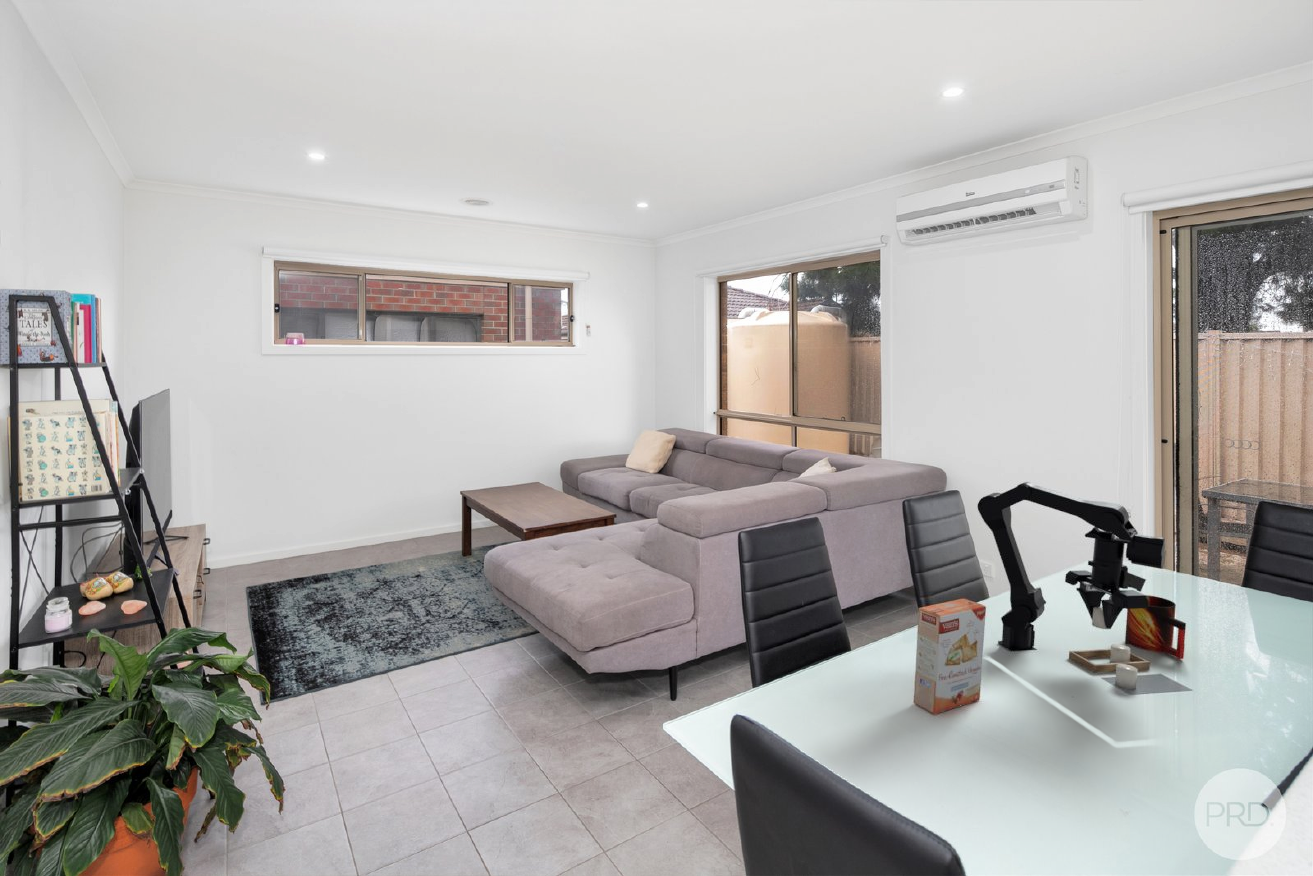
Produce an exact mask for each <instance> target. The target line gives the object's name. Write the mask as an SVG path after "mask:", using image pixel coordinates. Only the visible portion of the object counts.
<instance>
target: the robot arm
mask: <svg viewBox="0 0 1313 876" xmlns="http://www.w3.org/2000/svg"><path fill="white" fill-rule="evenodd" d="M1023 501H1028V502H1031V503H1034V504H1037V505H1041V506H1043V507H1045V508H1049V509H1053V510H1055V511H1060V512H1061V513H1062V512H1063V513H1065V514H1067V515H1072V516H1075V517H1077V518H1079V519H1080V520H1083V521H1084V522H1086V523H1087V524H1088V525H1091V526H1093V527H1092V529H1091V530H1089V531H1088V532H1086V533H1085V534H1084V537H1085V538H1090V539H1094V543H1093V556H1092V559H1091V560H1089V559H1088V561H1087V565H1088V566H1091V571H1088V570H1085V569H1084V570H1083V569H1082V570H1069V571H1068V572H1067V573H1066V574H1065V579H1064V582H1065V583H1067V584H1069V585H1071V586H1076V585H1077V584H1078V583H1079V587H1076V591H1077V592H1078V594H1079V595H1080V598H1081V599H1082V602H1083V603H1084V605H1085V607H1086V610H1087V611H1088V614H1089V616H1090V619H1091V620H1092V618H1093V608H1094V607H1102V609H1103V616H1104V622H1105V626H1106V628H1111V629H1112V627H1113V626H1114V623H1115V622H1116V621H1117V619H1118V617H1119V615H1120V613H1121V612H1122V611H1123V610H1124V609H1126V610H1127V609H1139V608H1148V606H1149V598H1148V597H1147V596H1146V595H1147V594H1144V593H1141V592H1142V590H1143V587H1144V585H1145V583H1146V580H1147V579H1146V578H1143V577H1142V576H1138V575H1136V574H1133V573H1131V572H1129V568H1128V566H1127V565H1125V564H1124V553H1125V558H1126V559H1127V560H1128V561H1130V562H1131V564H1132V565H1138V566H1143V567H1148V568H1154V569H1155V568H1156V569H1161V570H1162V569H1163V568H1164V567H1165V566H1164V565H1165V561H1166V556H1167V555H1166V553H1167V551H1166V543H1165V542H1166V539H1165V537H1164V536H1163V537H1162V536H1149V535H1144V534H1139V532H1138V531H1137V530H1136V528H1135V527H1134V526H1133V524H1132V523H1131V521H1130V519H1129V518H1130V515H1129V512H1128V511H1127V508H1125V506H1123V505H1120V504H1118V503H1113V502H1106V501H1098V500H1097V501H1096V500H1087V499H1083V498H1080V497H1076V496H1072V495H1069V494H1067V493H1062V492H1059V491H1056V490H1053V489H1050V488H1046V487H1043V486H1039V485H1037V484H1034V483H1032V482H1030V481H1026V482H1021V483H1020V484H1017V486H1015V487H1013V488H1011V489H1009V490H1007V491H1004V492H1001V493H1000V492H993V493H990V494H988V495H985V496H983V497H982V498H980V499H979V501H978V503H977V510H978V511H977V512H978V513H979V515H980V517H981V518H982V520H983V522H984V523H985V525H986V526H987V527H988V529H990V531H991V532H992V535H993V537H994V540H995V544H996V547H997V551H998V552H999V553H998V554H999V556H1000V560H1001V562H1002V565H1003V568H1004V571H1005V574H1006V577H1007V580H1008V583H1009V587H1010V591H1009V592H1010V593H1009V594H1010V596H1009V601H1010V608H1011V609H1010V610H1009V611H1007V612H1005V614H1004V615H1002V616H1001V618H1000V620H1001V622H1002V639H1001V640H998V641H997V644H999V645H1000V646H1002V647H1004V648H1005V649H1007V650H1008V651H1010V652H1026V651H1037V650H1038V649H1037V648H1036V647H1034V646H1035V640H1036V639H1035V638H1036V637H1035V636H1036V634H1035V633H1036V630H1035V629H1034V628H1035V625H1034V624H1032V623H1034V622H1036V620H1038V619H1039V618H1040V617H1041V616H1042V614H1044V611H1045V605H1046V604H1047V601H1046V600H1045V599H1044V596H1043V590H1042V588H1041V587H1040V586H1039V587H1036V588H1035V587H1034V585H1032V583H1031V581H1030V580H1029V577H1028V573H1027V571H1026V567H1025V564H1024V561H1023V558H1022V555H1021V553H1020V549H1019V547H1018V543H1017V541H1016V538H1015V535H1014V532H1013V528H1012V510H1011V506H1014V505H1016V504H1018V503H1021V502H1023ZM1125 544H1126V550H1125ZM1128 588H1132V589H1128ZM1120 589H1122V590H1120ZM1126 589H1127V590H1126ZM1105 595H1109V598H1108V599H1103V598H1104V596H1105Z"/></svg>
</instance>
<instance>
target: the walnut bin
mask: <svg viewBox="0 0 1313 876" xmlns="http://www.w3.org/2000/svg"><path fill="white" fill-rule="evenodd" d="M1110 655H1111V648H1105V649H1104V648H1102V649H1085V650H1070V651H1068V659H1070V660H1071V661H1073V662H1075V663H1076V664H1078V665H1079V666H1081V667H1083V668H1085V669H1087V670H1089V671H1090V672H1092V673H1094V674H1098V673H1114V672H1115V673H1116V666H1117V664H1126V665H1130V666H1133V667H1135V668H1137V669H1138V671H1146V670H1150V666H1151V661H1148V660H1147V659H1144V658H1143V657H1140V656H1138V655H1136V653H1134V652H1133V653H1132V652H1131V651H1130V662H1124V663H1111V662H1110V663H1097V664H1095V663H1094V662H1092V661H1090V660H1089V659H1096V658H1097V659H1099V658H1110Z"/></svg>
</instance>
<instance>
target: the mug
mask: <svg viewBox="0 0 1313 876" xmlns="http://www.w3.org/2000/svg"><path fill="white" fill-rule="evenodd" d="M1145 595H1146V596H1147V597H1148V598H1149V606H1148V608H1139V609H1126V610H1127V611H1126V620H1125V622H1126V623H1125V624H1126V625H1125V638H1124V643H1125V646H1128V645H1131V646H1133V647H1134V648H1138V649H1140V650H1141V649H1142V650H1145V651H1150V652H1157V653H1158V652H1159V653H1160V652H1161V653H1167V654H1168V655H1171V656H1173V657H1175V659H1176V658H1177V659H1179V660H1184V657H1185V655H1184V654H1185V639H1186V630H1187V629H1186V628H1187V627H1186V626H1187V625H1186V624H1187V623H1186V622H1184V621H1181V620H1180V619H1177V618H1175V617H1176V605H1177V604H1176V603H1175V602H1173V601H1172V600H1169V599H1168V598H1167V599H1166V598H1163V597H1160V596H1155V595H1148V594H1145ZM1175 628H1177V640H1176V648H1175V647H1173V645H1174V644H1173V643H1174V632H1175V631H1174V629H1175Z"/></svg>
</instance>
